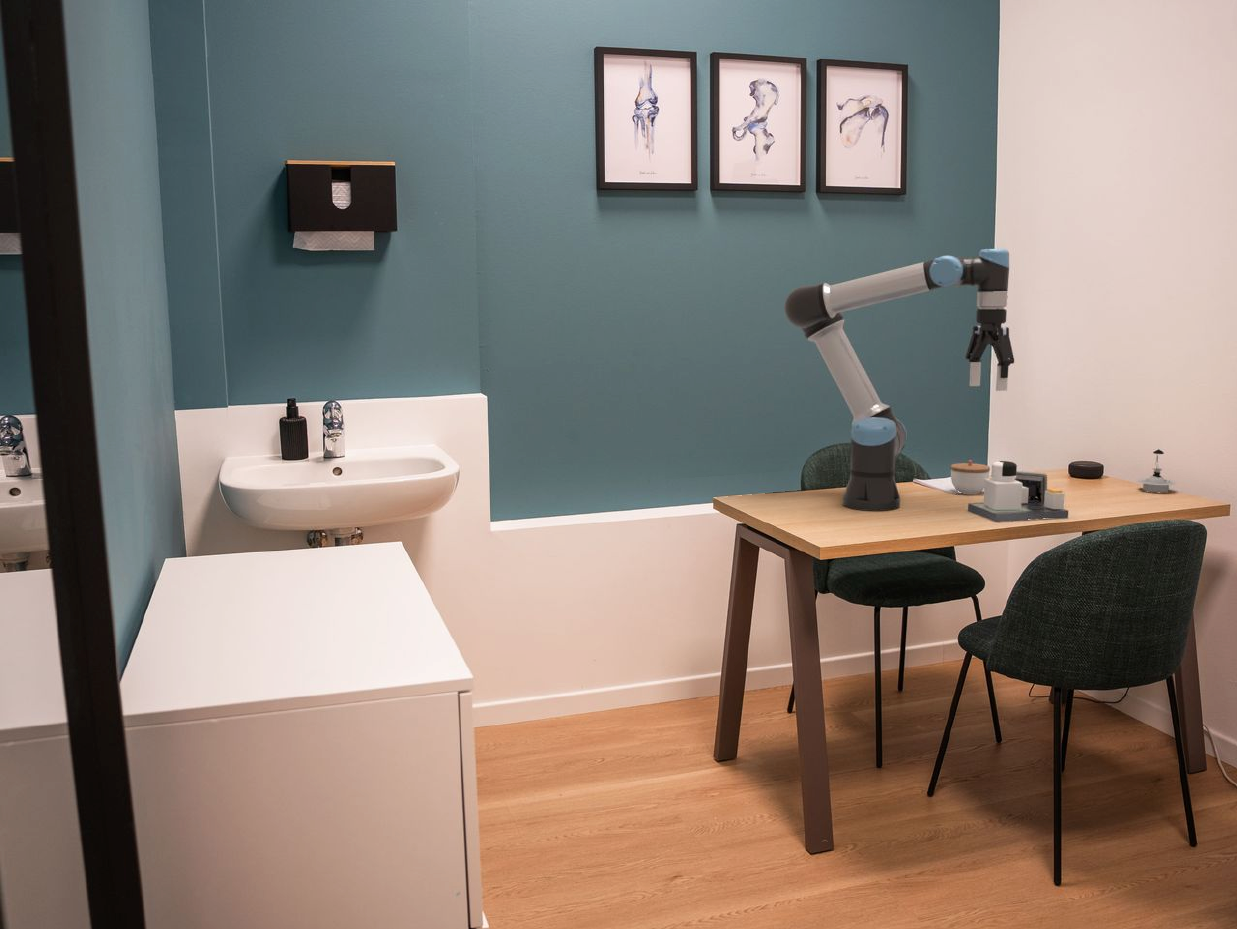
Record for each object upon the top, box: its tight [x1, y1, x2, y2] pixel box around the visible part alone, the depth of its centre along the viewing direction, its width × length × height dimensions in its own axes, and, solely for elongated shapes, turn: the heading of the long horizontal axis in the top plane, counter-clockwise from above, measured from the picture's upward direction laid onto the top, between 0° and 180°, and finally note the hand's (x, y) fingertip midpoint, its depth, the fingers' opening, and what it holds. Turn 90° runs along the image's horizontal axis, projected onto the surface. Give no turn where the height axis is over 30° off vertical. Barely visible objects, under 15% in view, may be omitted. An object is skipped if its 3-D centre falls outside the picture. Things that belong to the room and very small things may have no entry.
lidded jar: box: [950, 459, 991, 495], centre depth 299 cm, size 11×11×9 cm
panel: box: [967, 500, 1069, 523], centre depth 270 cm, size 20×14×2 cm
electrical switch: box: [1015, 470, 1048, 502], centre depth 282 cm, size 9×5×9 cm, turn 57°
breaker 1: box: [1021, 486, 1029, 503], centre depth 274 cm, size 3×4×4 cm
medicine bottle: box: [982, 460, 1023, 510], centre depth 268 cm, size 7×7×12 cm
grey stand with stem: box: [1136, 448, 1177, 494], centre depth 299 cm, size 12×10×10 cm
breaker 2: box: [1044, 488, 1065, 509], centre depth 267 cm, size 3×4×5 cm
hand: (987, 388), depth 278 cm, fingers open, 13 cm apart
